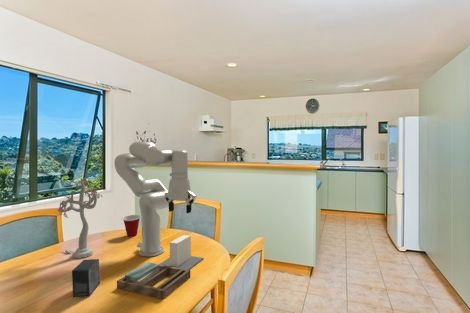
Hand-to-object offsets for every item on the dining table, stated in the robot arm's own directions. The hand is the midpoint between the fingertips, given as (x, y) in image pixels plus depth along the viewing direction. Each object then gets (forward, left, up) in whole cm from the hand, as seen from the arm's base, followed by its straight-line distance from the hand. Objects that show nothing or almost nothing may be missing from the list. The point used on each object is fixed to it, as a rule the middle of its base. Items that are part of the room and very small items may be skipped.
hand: (180, 211), depth 138 cm
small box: (-20, -36, -25) cm, 48 cm away
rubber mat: (0, 0, -25) cm, 25 cm away
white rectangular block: (0, 0, -24) cm, 24 cm away
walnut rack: (+1, -21, -25) cm, 32 cm away
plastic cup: (-52, +25, -25) cm, 63 cm away
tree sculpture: (-55, -10, -25) cm, 61 cm away
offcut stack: (-5, -21, -25) cm, 33 cm away
